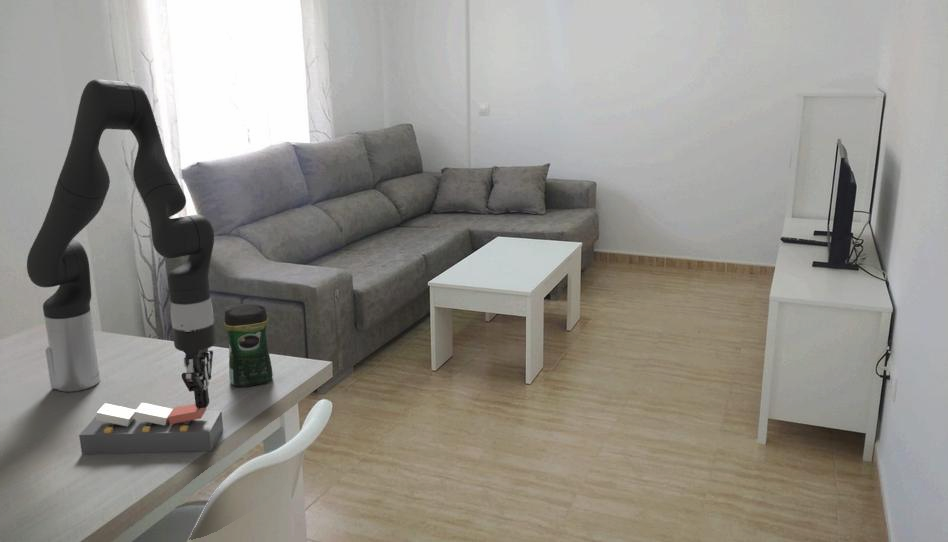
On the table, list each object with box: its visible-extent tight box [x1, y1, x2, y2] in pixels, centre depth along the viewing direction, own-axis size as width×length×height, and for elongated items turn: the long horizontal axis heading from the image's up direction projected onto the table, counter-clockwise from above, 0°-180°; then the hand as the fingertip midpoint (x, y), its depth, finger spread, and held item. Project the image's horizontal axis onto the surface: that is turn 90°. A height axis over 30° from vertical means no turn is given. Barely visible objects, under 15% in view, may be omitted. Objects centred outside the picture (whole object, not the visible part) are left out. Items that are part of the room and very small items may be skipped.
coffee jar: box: [223, 301, 274, 388], centre depth 178 cm, size 10×8×19 cm
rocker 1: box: [95, 402, 136, 426], centre depth 150 cm, size 6×4×2 cm, turn 94°
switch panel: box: [78, 410, 224, 455], centre depth 151 cm, size 24×9×5 cm, turn 93°
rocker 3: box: [168, 403, 207, 424], centre depth 151 cm, size 6×4×2 cm, turn 93°
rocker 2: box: [133, 402, 174, 426], centre depth 150 cm, size 6×4×2 cm, turn 94°
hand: (202, 406), depth 151 cm, fingers closed
